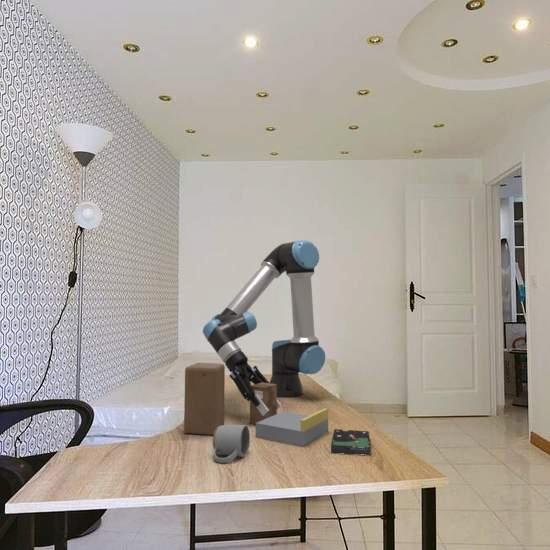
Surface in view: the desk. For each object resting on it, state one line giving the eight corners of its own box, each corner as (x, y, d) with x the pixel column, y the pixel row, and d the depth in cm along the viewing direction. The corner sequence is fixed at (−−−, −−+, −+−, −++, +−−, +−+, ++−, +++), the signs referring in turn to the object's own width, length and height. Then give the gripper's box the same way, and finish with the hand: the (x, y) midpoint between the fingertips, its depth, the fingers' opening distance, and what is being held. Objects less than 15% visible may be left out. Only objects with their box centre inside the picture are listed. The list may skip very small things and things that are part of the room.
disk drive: (333, 438, 129) (330, 455, 115) (333, 428, 129) (330, 444, 115) (369, 440, 127) (371, 457, 113) (369, 430, 127) (370, 446, 113)
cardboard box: (261, 417, 149) (262, 382, 150) (276, 420, 146) (276, 384, 147) (249, 422, 143) (250, 385, 144) (265, 425, 140) (265, 387, 141)
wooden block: (214, 436, 129) (215, 367, 130) (182, 434, 131) (183, 366, 132) (225, 426, 138) (225, 363, 140) (195, 424, 140) (196, 362, 142)
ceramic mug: (221, 448, 118) (221, 419, 118) (250, 450, 116) (250, 421, 116) (206, 463, 108) (206, 431, 108) (237, 466, 106) (237, 434, 106)
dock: (283, 423, 142) (283, 402, 142) (328, 431, 133) (328, 408, 134) (255, 436, 128) (255, 412, 129) (303, 446, 120) (303, 420, 120)
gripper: (243, 361, 162) (281, 411, 153) (208, 368, 145) (248, 424, 136) (255, 347, 160) (294, 397, 150) (221, 352, 143) (262, 409, 133)
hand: (272, 410), depth 143 cm, fingers closed on cardboard box, 7 cm apart
